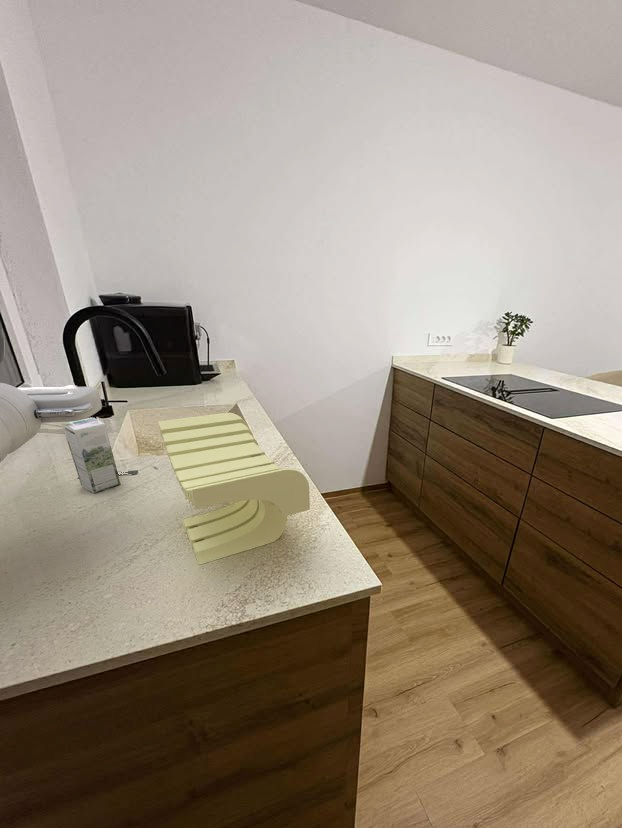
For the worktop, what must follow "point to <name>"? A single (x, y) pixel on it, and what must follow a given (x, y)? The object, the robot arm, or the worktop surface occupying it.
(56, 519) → the worktop surface
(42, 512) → the worktop surface
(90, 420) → the syrup box
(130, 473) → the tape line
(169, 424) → the slatted curved stool
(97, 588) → the worktop surface
